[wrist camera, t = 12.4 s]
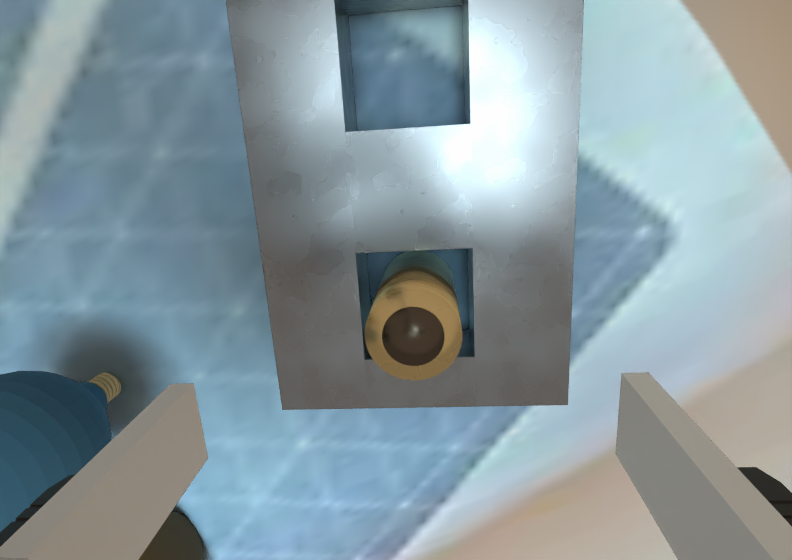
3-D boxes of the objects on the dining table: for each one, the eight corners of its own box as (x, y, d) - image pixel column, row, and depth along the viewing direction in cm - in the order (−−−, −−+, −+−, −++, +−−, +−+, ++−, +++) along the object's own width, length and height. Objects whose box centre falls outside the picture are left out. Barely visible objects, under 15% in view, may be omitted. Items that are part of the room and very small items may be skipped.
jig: (248, -41, 25) (215, -74, 21) (563, -72, 24) (588, -112, 20) (300, 377, 32) (282, 409, 28) (550, 371, 30) (567, 404, 27)
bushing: (379, 251, 29) (360, 291, 21) (453, 248, 29) (461, 288, 21) (383, 320, 30) (367, 382, 22) (455, 318, 30) (463, 381, 22)
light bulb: (190, 358, 32) (54, 481, 20) (150, 454, 34) (8, 612, 23) (71, 301, 31) (-137, 394, 20) (39, 402, 34) (-164, 538, 22)
